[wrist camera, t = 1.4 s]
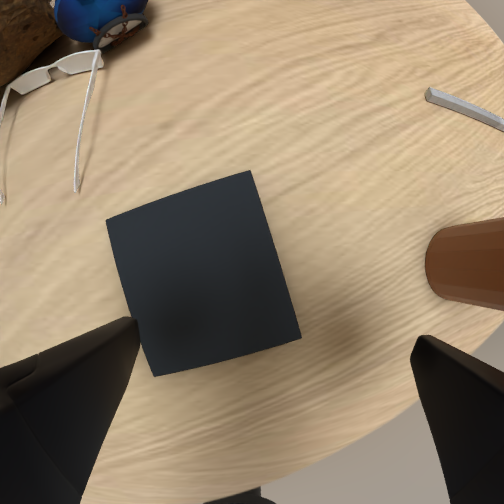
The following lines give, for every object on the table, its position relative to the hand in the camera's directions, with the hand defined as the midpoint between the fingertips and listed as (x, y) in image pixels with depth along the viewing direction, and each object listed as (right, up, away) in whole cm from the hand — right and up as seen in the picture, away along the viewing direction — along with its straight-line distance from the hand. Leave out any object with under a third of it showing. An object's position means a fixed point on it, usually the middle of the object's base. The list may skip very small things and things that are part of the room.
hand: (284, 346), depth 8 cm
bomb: (-16, +30, +13) cm, 37 cm away
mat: (-5, +1, +13) cm, 14 cm away
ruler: (+22, +18, +13) cm, 32 cm away
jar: (+17, +2, +13) cm, 22 cm away
